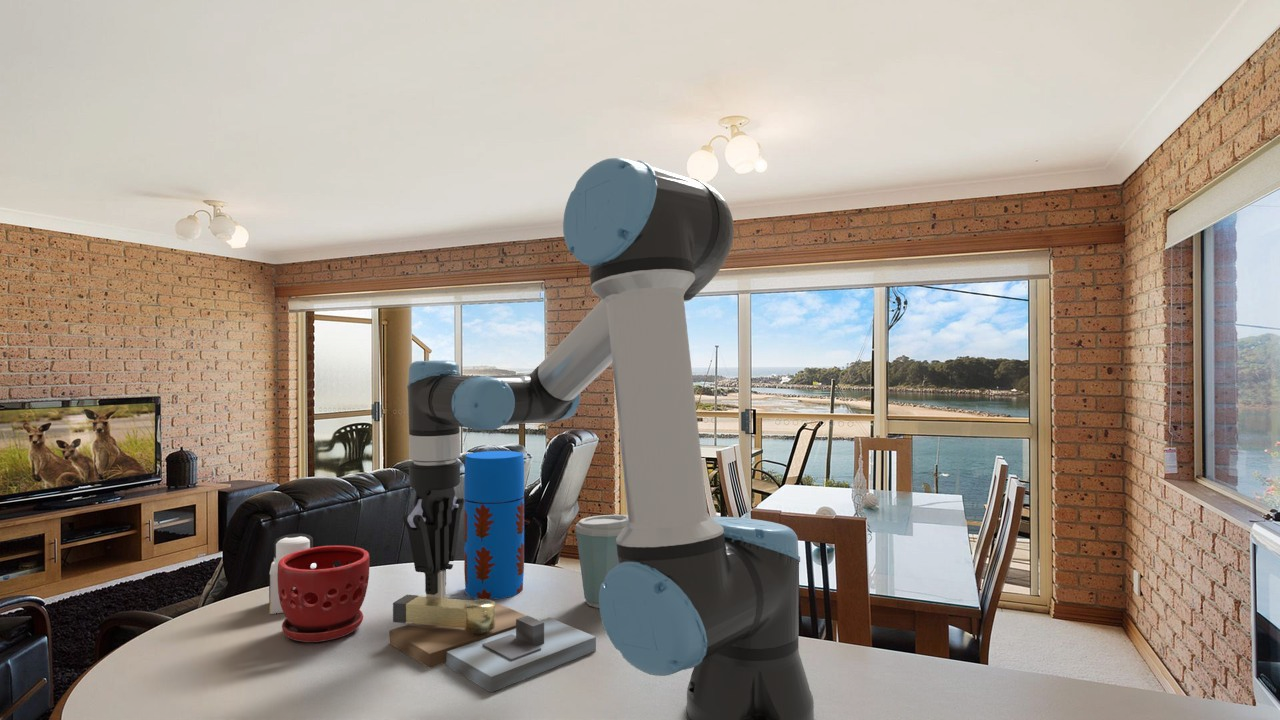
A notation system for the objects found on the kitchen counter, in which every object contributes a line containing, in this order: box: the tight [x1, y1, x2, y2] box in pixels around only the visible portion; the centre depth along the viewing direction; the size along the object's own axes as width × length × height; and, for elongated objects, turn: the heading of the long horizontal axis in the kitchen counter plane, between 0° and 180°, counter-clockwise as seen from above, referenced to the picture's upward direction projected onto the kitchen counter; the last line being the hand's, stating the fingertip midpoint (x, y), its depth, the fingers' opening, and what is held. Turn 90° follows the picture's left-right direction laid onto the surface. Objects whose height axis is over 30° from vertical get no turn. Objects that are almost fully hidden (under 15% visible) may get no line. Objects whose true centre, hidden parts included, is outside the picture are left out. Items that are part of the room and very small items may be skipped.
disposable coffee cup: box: [574, 514, 628, 609], centre depth 122 cm, size 11×11×15 cm
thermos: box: [463, 450, 525, 600], centre depth 129 cm, size 11×11×25 cm
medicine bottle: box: [268, 533, 317, 615], centre depth 121 cm, size 7×7×12 cm
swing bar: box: [392, 594, 496, 633], centre depth 105 cm, size 15×4×3 cm, turn 77°
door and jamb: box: [388, 601, 597, 693], centre depth 103 cm, size 24×20×5 cm
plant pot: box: [277, 545, 370, 643], centre depth 109 cm, size 13×13×12 cm
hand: (436, 612), depth 108 cm, fingers closed
